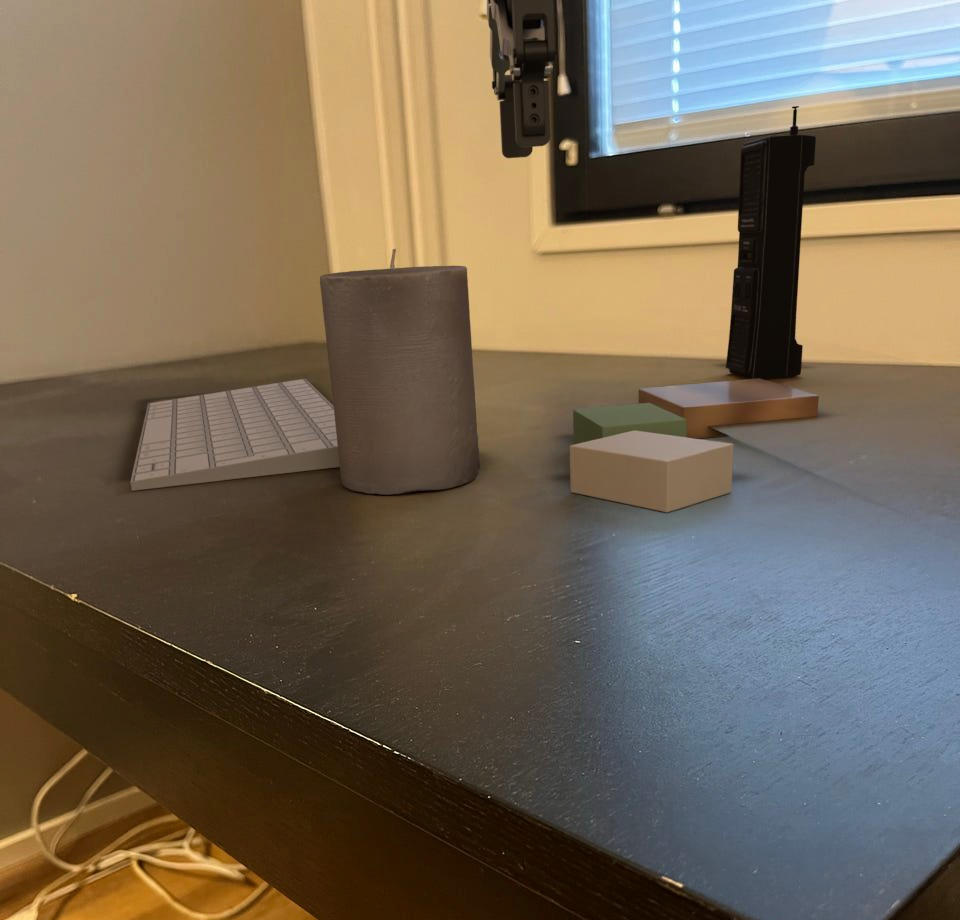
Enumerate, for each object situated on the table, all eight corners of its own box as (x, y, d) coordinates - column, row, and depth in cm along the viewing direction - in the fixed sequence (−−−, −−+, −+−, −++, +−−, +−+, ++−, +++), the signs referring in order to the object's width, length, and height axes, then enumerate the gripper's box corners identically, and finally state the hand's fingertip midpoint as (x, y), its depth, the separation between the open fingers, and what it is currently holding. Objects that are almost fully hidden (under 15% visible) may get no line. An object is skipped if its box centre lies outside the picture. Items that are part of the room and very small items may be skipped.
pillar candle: (401, 459, 75) (383, 248, 69) (507, 470, 70) (496, 242, 64) (311, 488, 68) (282, 255, 62) (421, 502, 62) (400, 248, 57)
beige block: (634, 474, 66) (634, 430, 65) (732, 492, 60) (733, 443, 59) (570, 492, 63) (568, 445, 61) (667, 513, 57) (667, 461, 56)
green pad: (649, 442, 76) (649, 402, 75) (686, 462, 68) (687, 419, 67) (573, 449, 75) (572, 409, 74) (602, 470, 68) (602, 427, 66)
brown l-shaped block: (757, 407, 87) (759, 378, 86) (817, 427, 77) (819, 395, 76) (638, 417, 86) (638, 388, 85) (682, 440, 76) (683, 407, 75)
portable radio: (720, 372, 109) (728, 118, 99) (773, 368, 109) (786, 114, 100) (745, 381, 101) (757, 108, 92) (802, 377, 102) (819, 104, 92)
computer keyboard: (149, 408, 109) (146, 392, 108) (317, 392, 113) (315, 377, 112) (114, 492, 70) (110, 469, 70) (372, 464, 74) (370, 442, 74)
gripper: (593, -178, 56) (598, 139, 62) (554, -98, 69) (561, 157, 75) (462, -172, 56) (480, 146, 62) (448, -93, 69) (464, 163, 75)
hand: (524, 152), depth 69 cm, fingers open, 8 cm apart
